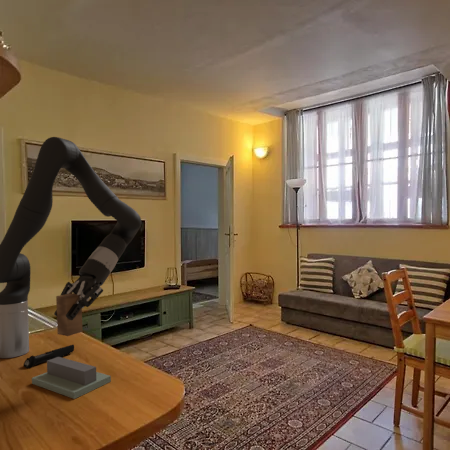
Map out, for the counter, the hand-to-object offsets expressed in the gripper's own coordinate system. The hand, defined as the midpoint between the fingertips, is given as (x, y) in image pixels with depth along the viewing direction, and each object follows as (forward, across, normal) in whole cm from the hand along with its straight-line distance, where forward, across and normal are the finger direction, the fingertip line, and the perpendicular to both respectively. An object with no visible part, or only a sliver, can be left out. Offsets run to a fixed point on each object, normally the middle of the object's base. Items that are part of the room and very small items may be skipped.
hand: (63, 317), depth 95 cm
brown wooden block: (+2, 0, +5) cm, 5 cm away
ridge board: (+11, 0, +14) cm, 18 cm away
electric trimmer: (+6, -22, +20) cm, 30 cm away
